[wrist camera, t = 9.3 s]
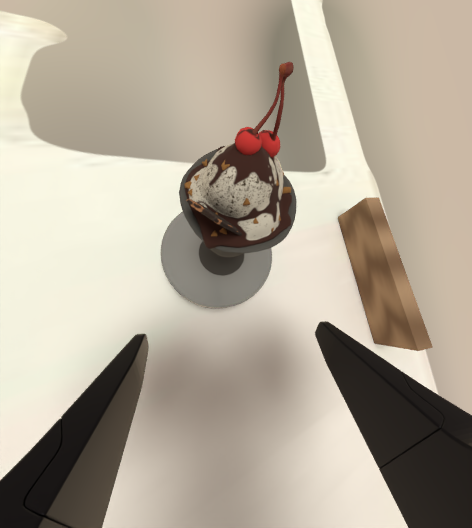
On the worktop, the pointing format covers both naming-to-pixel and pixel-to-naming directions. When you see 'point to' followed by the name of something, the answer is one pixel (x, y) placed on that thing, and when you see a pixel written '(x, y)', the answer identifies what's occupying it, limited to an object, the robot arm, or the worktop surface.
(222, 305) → the slate plinth
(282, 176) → the sundae
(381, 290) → the brown wooden plank
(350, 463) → the worktop surface
